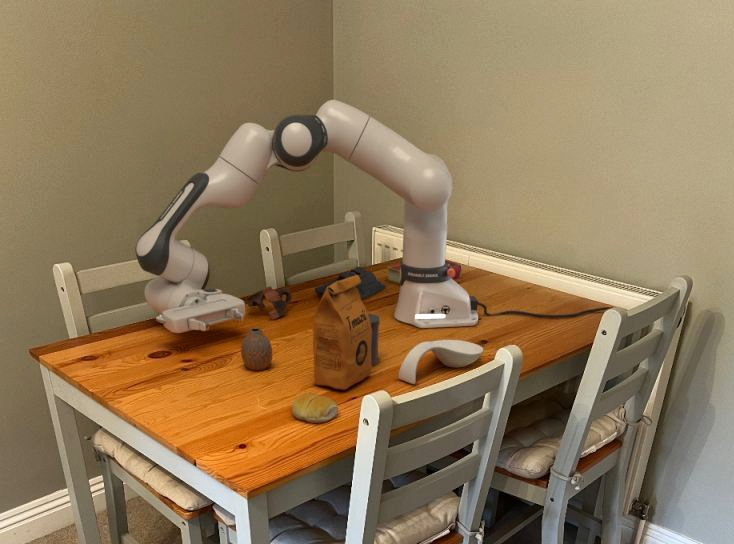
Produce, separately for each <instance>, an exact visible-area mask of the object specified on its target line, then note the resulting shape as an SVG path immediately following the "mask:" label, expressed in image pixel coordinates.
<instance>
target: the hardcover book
mask: <svg viewBox="0 0 734 544" xmlns="http://www.w3.org/2000/svg"><path fill="white" fill-rule="evenodd" d="M445 263H447V264H449V265H450V266H451V267H452V269H454V271H455V276H454V277H453V278H452V279H453V280H455V279H459V278H462V274H463V264H461V263H458V262H455V261H452V260H448V259H445ZM400 265H401V263H400V264H394V265H391V266H386V270H387V278H386V279H385V281H387V282H390V283H393V284H396V285H399V286H400V282H399V276H400Z"/></svg>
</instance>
